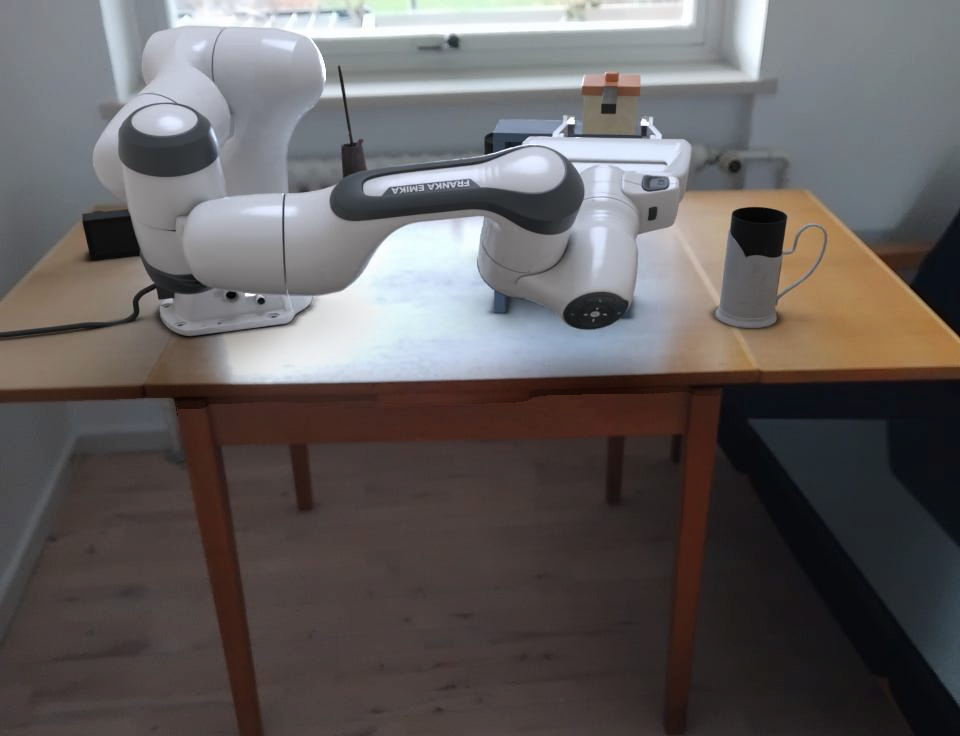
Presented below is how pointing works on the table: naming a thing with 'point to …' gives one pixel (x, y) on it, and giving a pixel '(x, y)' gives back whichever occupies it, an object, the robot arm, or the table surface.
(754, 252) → the glass holder
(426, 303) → the table surface
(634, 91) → the black orange t-shaped piece
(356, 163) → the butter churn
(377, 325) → the table surface
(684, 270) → the table surface
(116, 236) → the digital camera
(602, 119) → the cream rectangular block
